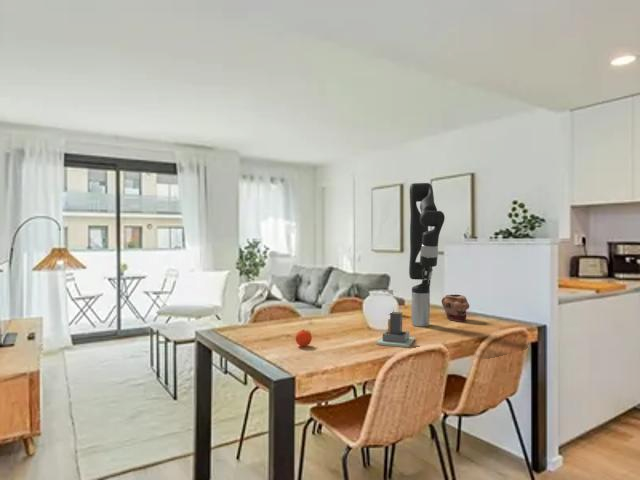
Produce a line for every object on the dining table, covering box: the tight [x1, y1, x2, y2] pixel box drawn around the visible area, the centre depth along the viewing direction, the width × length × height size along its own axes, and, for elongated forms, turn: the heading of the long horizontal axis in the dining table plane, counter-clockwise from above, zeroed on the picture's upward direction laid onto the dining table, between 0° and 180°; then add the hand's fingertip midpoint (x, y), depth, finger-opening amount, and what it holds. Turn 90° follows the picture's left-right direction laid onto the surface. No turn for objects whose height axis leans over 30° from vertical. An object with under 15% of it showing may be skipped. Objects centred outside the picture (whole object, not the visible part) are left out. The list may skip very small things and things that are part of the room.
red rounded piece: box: [295, 329, 313, 347], centre depth 196 cm, size 8×7×7 cm
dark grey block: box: [387, 311, 403, 335], centre depth 204 cm, size 4×6×12 cm
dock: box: [375, 329, 416, 348], centre depth 204 cm, size 16×14×4 cm
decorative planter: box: [441, 294, 470, 322], centre depth 257 cm, size 20×12×14 cm, turn 32°
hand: (426, 289), depth 208 cm, fingers open, 8 cm apart
